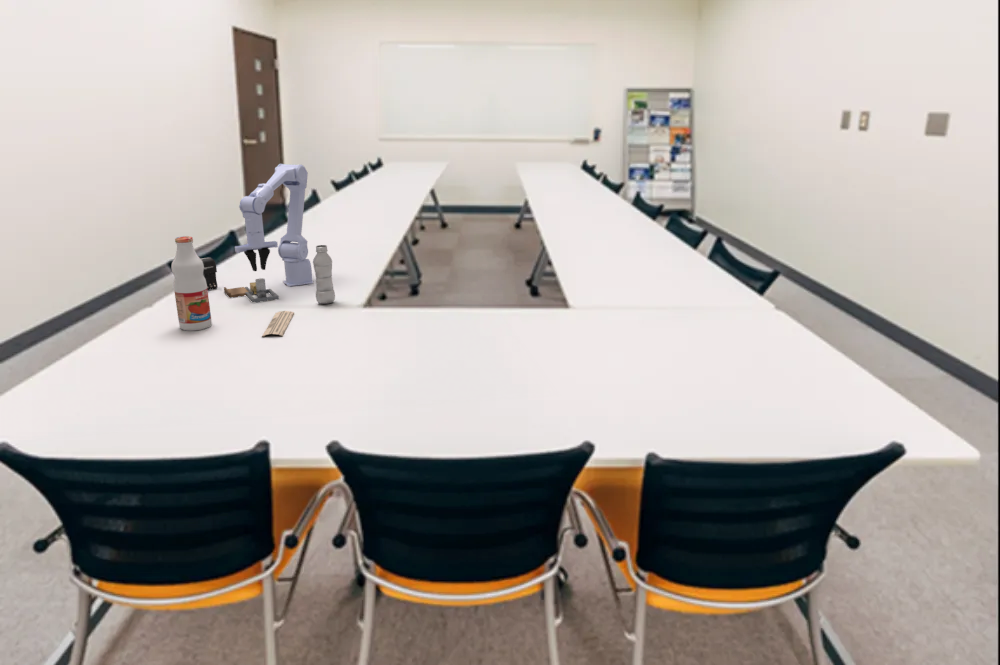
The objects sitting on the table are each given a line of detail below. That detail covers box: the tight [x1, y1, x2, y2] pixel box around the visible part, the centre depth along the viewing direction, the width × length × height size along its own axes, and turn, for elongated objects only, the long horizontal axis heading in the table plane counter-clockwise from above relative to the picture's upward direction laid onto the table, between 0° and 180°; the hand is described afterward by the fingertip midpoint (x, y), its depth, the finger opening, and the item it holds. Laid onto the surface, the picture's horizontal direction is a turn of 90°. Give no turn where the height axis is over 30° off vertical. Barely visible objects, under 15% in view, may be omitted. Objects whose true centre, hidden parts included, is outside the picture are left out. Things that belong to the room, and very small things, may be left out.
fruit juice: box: [171, 235, 213, 332], centre depth 225 cm, size 9×9×28 cm
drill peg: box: [254, 277, 268, 298], centre depth 259 cm, size 3×3×6 cm
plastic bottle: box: [312, 244, 336, 305], centre depth 250 cm, size 6×7×20 cm
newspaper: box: [261, 310, 295, 338], centre depth 230 cm, size 24×7×2 cm, turn 6°
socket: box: [244, 286, 280, 303], centre depth 263 cm, size 9×19×1 cm, turn 31°
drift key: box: [249, 281, 257, 295], centre depth 266 cm, size 3×6×3 cm, turn 31°
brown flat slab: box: [223, 286, 249, 298], centre depth 265 cm, size 7×9×2 cm
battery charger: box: [200, 257, 218, 291], centre depth 269 cm, size 7×4×11 cm, turn 134°
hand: (259, 270), depth 257 cm, fingers open, 2 cm apart
